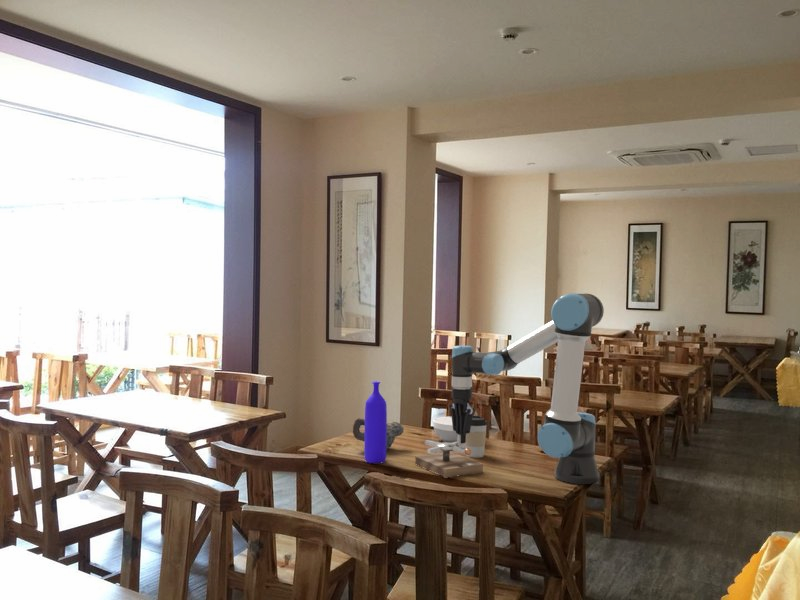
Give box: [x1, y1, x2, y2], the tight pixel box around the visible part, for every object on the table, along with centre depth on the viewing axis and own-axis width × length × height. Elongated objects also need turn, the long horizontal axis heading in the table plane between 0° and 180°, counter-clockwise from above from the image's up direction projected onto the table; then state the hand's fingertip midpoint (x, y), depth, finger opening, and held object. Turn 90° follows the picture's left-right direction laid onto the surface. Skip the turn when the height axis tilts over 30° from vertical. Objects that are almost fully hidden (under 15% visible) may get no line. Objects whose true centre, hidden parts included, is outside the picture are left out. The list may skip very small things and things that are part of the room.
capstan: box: [424, 439, 471, 455], centre depth 246 cm, size 21×19×2 cm
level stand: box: [414, 451, 484, 479], centre depth 247 cm, size 20×16×7 cm
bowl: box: [432, 415, 457, 443], centre depth 291 cm, size 19×19×9 cm
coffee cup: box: [465, 415, 488, 458], centre depth 267 cm, size 9×9×15 cm
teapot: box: [352, 417, 405, 450], centre depth 275 cm, size 21×12×15 cm, turn 108°
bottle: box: [363, 380, 388, 464], centre depth 256 cm, size 8×8×30 cm
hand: (461, 451), depth 251 cm, fingers closed
